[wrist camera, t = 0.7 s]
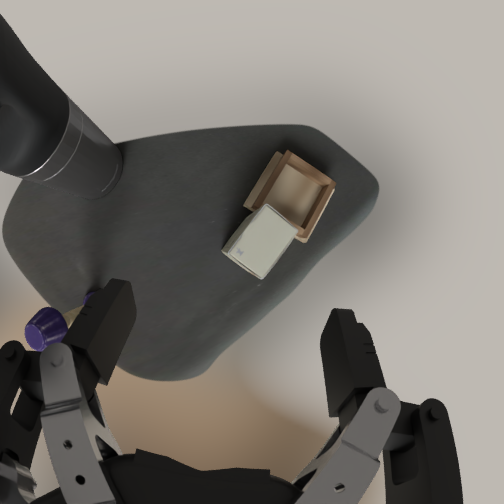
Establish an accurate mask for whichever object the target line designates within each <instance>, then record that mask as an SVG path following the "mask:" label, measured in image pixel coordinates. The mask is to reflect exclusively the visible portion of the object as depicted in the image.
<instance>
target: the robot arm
mask: <svg viewBox="0 0 504 504" xmlns="http://www.w3.org/2000/svg"><path fill="white" fill-rule="evenodd" d="M122 166H123V161H122V155H121V152H120V151H119V149H118V147H117V146H116V145H115V144H114V143H113V142H112V141H111V140H110V139H109V138H108V137H107V136H106V135H105V134H104V133H103V132H102V131H101V130H100V129H99V128H98V127H97V126H96V125H95V124H94V123H93V122H92V121H91V119H89V117H87V115H86V114H84V112H83V111H82V110H81V109H80V108H79V107H78V106H77V105H76V104H75V103H74V102H73V101H72V100H71V99H70V98H69V97H68V96H67V95H66V94H65V93H64V92H63V91H62V90H61V88H60V87H59V86H58V85H57V84H56V83H55V82H54V81H53V80H52V79H51V78H50V77H49V76H48V74H47V73H46V72H45V71H44V70H43V69H42V68H41V66H40V65H39V64H38V63H37V62H36V61H35V60H34V59H33V57H32V56H31V55H30V53H29V52H28V51H27V50H26V48H25V47H24V45H23V44H22V43H21V41H20V40H19V38H18V37H17V35H16V34H15V33H14V31H13V30H12V28H11V27H10V26H9V24H8V23H7V22H6V21H5V19H4V18H3V17H2V15H1V14H0V171H2V172H4V173H7V174H10V175H13V176H16V177H19V178H22V179H25V180H29V181H32V182H35V183H38V184H41V185H45V186H48V187H51V188H54V189H57V190H60V191H63V192H66V193H69V194H72V195H75V196H78V197H82V198H85V199H98V198H100V197H103V196H104V195H106V194H107V193H109V192H110V191H111V190H112V189H113V188H114V186H115V185H116V184H117V182H118V180H119V178H120V176H121V172H122ZM135 320H136V305H135V301H134V296H133V291H132V286H131V283H130V282H129V281H125V280H119V279H114V278H112V279H111V280H110V281H109V282H108V284H107V285H106V287H105V288H104V289H99V290H97V291H96V292H95V293H93V294H92V295H91V296H90V297H89V298H88V300H87V301H86V303H85V304H84V307H82V309H81V310H80V312H79V314H78V315H77V317H76V318H75V320H74V321H73V323H72V324H71V326H70V328H69V329H68V331H67V333H66V334H65V336H64V337H63V339H62V341H61V342H60V343H53V344H50V345H49V346H47V347H46V348H45V349H44V350H43V351H26V350H25V348H24V347H23V345H22V344H21V343H20V342H19V341H15V340H13V341H9V342H7V343H5V344H4V345H3V346H2V348H1V349H0V504H358V502H359V501H360V499H361V498H362V496H363V494H364V493H365V491H366V489H367V488H368V486H369V485H370V483H371V482H372V480H373V478H374V476H375V475H376V473H377V471H378V469H379V467H380V461H379V460H378V457H379V455H380V453H381V451H382V450H383V460H384V472H385V489H386V504H463V494H462V484H461V477H460V469H459V463H458V457H457V452H456V447H455V442H454V437H453V432H452V428H451V424H450V420H449V416H448V412H447V409H446V407H445V406H444V404H443V403H442V402H441V401H439V400H437V399H433V398H430V399H427V400H425V401H424V402H423V403H422V404H421V405H416V404H412V403H407V402H403V401H400V400H399V398H398V397H397V395H396V394H395V393H394V392H393V391H391V390H389V389H387V387H386V384H385V381H384V377H383V373H382V370H381V367H380V363H379V360H378V356H377V354H376V350H375V346H373V344H374V343H373V340H372V337H371V334H370V332H369V331H368V330H367V328H366V327H365V326H364V324H363V323H357V321H356V318H355V315H354V312H353V311H352V310H351V309H338V308H337V309H336V308H334V309H333V310H332V311H331V314H330V316H329V318H328V321H327V323H326V325H325V328H324V330H323V332H322V335H321V339H320V350H321V357H322V363H323V371H324V378H325V386H326V394H327V402H328V410H329V417H339V425H338V426H337V427H336V429H335V430H334V431H333V433H332V434H331V436H330V437H329V439H328V440H327V442H326V443H325V444H324V446H323V447H322V448H321V450H320V451H319V452H318V454H317V455H316V456H315V457H314V459H313V460H312V461H311V462H310V463H309V464H308V465H307V466H306V467H305V468H304V469H303V470H302V471H301V472H300V474H299V475H298V476H297V477H296V478H295V479H294V481H293V482H292V483H290V482H288V481H286V480H284V479H282V478H279V477H276V476H273V475H270V470H266V469H247V468H230V469H220V470H209V471H200V470H197V469H194V468H192V467H189V466H187V465H184V464H182V463H180V462H178V461H176V460H174V459H171V458H169V457H167V456H162V455H158V454H154V453H151V452H147V451H143V450H140V449H136V453H135V454H122V452H121V450H120V448H119V446H118V444H117V442H116V440H115V439H114V437H113V435H112V434H111V432H110V430H109V427H108V425H107V422H106V419H105V417H104V414H103V411H102V408H101V405H100V402H99V399H98V396H97V393H96V390H95V388H96V386H97V383H101V384H104V385H106V386H107V385H108V382H109V380H110V377H111V375H112V372H113V370H114V368H115V365H116V363H117V361H118V358H119V356H120V354H121V352H122V349H123V347H124V345H125V343H126V340H127V338H128V336H129V334H130V332H131V329H132V327H133V325H134V323H135ZM19 388H20V389H21V393H20V395H19V398H18V400H17V402H16V405H15V407H14V410H13V413H12V415H11V414H10V409H11V406H12V403H13V401H14V398H15V396H16V394H17V391H18V389H19ZM42 428H43V432H44V436H45V440H46V444H47V448H48V452H49V455H50V459H51V462H52V465H53V468H54V471H55V474H56V477H57V480H58V483H59V485H60V487H59V488H57V489H55V490H53V491H51V492H49V493H47V494H46V495H43V496H41V497H39V498H37V499H36V497H35V495H34V489H35V488H36V486H37V484H36V481H35V480H34V479H33V477H32V474H31V472H30V467H31V463H32V459H33V456H34V452H35V448H36V445H37V441H38V438H39V435H40V432H41V429H42Z"/></svg>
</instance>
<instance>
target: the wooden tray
mask: <svg viewBox="0 0 504 504" xmlns="http://www.w3.org/2000/svg"><path fill="white" fill-rule="evenodd" d="M335 185H336V182H334V181H333V180H331V179H330V178H329V177H327V176H326V175H324V174H323V173H322V172H320V171H319V170H317V169H316V168H314V167H313V166H311V165H310V164H308V163H307V162H305V161H304V160H302V159H301V158H299V157H298V156H296V155H295V154H293V153H292V152H290V151H288V150H287V151H286V152H285V153H284V154H281V153H279V152H278V151H277V152H276V153H275V154H274V156H273V157H272V159H271V161H270V162H269V164H268V165H267V167H266V169H265V170H264V172H263V173H262V175H261V177H260V178H259V180H258V182H257V183H256V185H255V186H254V188H253V190H252V191H251V193H250V195H249V196H248V198H247V200H246V201H245V203H244V205H243V206H244V207H246V208H247V209H249V210H251V211H252V212H255V211H256V210H257V209H259V208H260V207H262V206H263V205H264V204H269V205H270V206H271V207H272V208H274V209H275V210H276V211H277V212H278V213H280V214H281V215H282V216H283V217H284V218H285V219H287V220H288V221H289V222H290V223H291V224H292V225H293V226H294V227H295V228H296V229H298V232H297V234H296V235H295V238H296V239H298V240H299V241H301V242H303V243H306V242H307V240H308V239H309V237H310V235H311V233H312V231H313V229H314V228H315V226H316V224H317V222H318V220H319V218H320V216H321V215H322V213H323V211H324V209H325V207H326V205H327V203H328V201H329V199H330V198H331V196H332V194H333V192H334V190H335V189H334V187H335Z"/></svg>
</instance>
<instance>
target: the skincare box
mask: <svg viewBox="0 0 504 504" xmlns="http://www.w3.org/2000/svg"><path fill="white" fill-rule="evenodd" d="M297 232H298V229H296V228H295V227H294V226H293V225H292V224H291V223H290V222H289V221H288V220H287V219H285V218H284V217H283V216H282V215H281V214H280V213H278V212H277V211H276V210H275V209H274V208H272V207H271V206H270V205H269V204H264V205H263V206H262V207H260V208H259V209H257V210H256V211H255V212H253V213H252V214H251V215H249V216H248V217H246V219H245V220H244V221H243V222H242V223H241V225H240V226H239V227H238V228H237V230H236V231H235V232H234V234H233V235H232V236H231V238H230V239H229V240H228V242H227V243H226V244H225V246H224V247H223V249H222V250H221V251H222V252H223V253H224V254H225V255H226V256H228V257H229V258H230V259H231V260H233V261H234V262H235V263H237V264H238V265H239V266H241V267H242V268H244V269H245V270H247V271H248V272H250V273H251V274H253V275H255V276H256V277H258V278H260V279H263V278H264V277H265V276H266V275H267V274H268V272H269V271H270V270H271V269H272V268H273V266H274V265H275V264H276V262H277V261H278V260H279V258H280V257H281V255H282V254H283V253H284V251H285V250H286V249H287V247H288V246H289V244H290V243H291V241H292V240H293V238H294V237H295V235H296V234H297Z"/></svg>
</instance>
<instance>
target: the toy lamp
mask: <svg viewBox="0 0 504 504" xmlns="http://www.w3.org/2000/svg"><path fill="white" fill-rule="evenodd" d="M93 293H95V292H90V293H88V294H87V295H86V296H85V298H84V301H83V305H82V306H81V307H77V308H76V309H73V310H71V311H70V312H67V313H65V314H64V315H62V314H61V313H60V312H59V311H58V310H56V309H54V308H52V307H45V308H42V309H41V310H39V311H38V312H37V313H36V314H35V315H34V317H33V318H32V319H31V320H30V321H29V322H28V323H27V325H26V327H25V338H26V341H27V343H28V344H29V345H30V347H31V348H33V349H34V350H36V351H43V350H44V349H45V348H46V347H47V346H49V345H50V344H53V343H60V342H61V341H62V339H63V337H64V336H65V334H66V333H67V331H68V327H70V326H71V324H72V323H73V321H74V320H75V318H76V317H77V315H78V314H79V312H80V310H81V309H82V307H84V304H85V303H86V301H87V300H88V298H89V297H90V296H91V295H92V294H93Z"/></svg>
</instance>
